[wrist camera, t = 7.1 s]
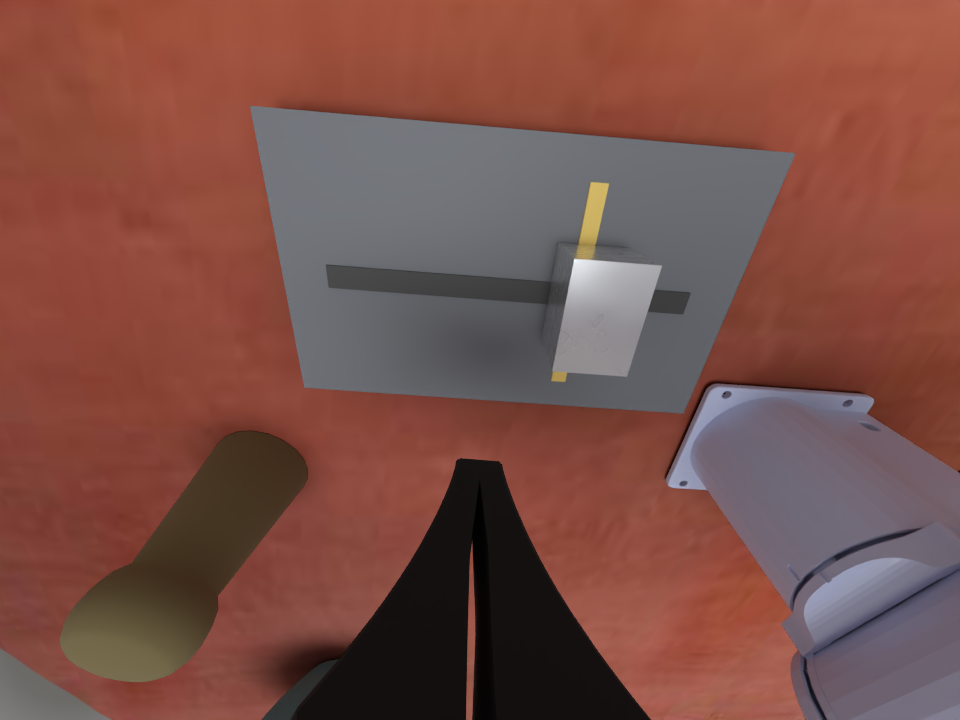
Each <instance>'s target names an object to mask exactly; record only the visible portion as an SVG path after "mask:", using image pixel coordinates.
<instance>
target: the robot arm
mask: <svg viewBox="0 0 960 720" xmlns="http://www.w3.org/2000/svg"><path fill="white" fill-rule="evenodd" d="M726 391H727V392H726ZM724 392H726V393H725V394H723V393H724ZM722 394H723V395H722ZM873 404H874V399H873V398H872V397H870V396H869V395H866V394H858V393H844V392H830V391H816V390H802V389H788V388H774V387H760V386H746V385H731V384H713V385H710V386H709V387H708V388H707V389H706V391H705V393H704V395H703V398H702V400H701V402H700V404H699V407H698V409H697V411H696V413H695V415H694V418H693V420H692V422H691V424H690V427H689V429H688V431H687V433H686V435H685V438H684V440H683V442H682V444H681V447H680V449H679V451H678V453H677V455H676V458H675V460H674V462H673V464H672V466H671V469H670V471H669V473H668V475H667V478H666V482H667V484H668V486H669V487H671V488H683V489H698V490H707V491H708V492H709V494H710V495H711V496H712V498H713V499H714V501H715V502H716V504H717V505H718V507H719V508H720V509H721V511H722V512H723V514H724V515H725V517H726V518H727V520H728V521H729V522H730V524H731V525H732V527H733V528H734V530H735V531H736V533H737V534H738V535H739V537H740V538H741V540H742V541H743V543H744V544H745V546H746V547H747V548H748V550H749V551H750V553H751V554H752V556H753V557H754V559H755V560H756V561H757V563H758V564H759V566H760V567H761V569H762V570H763V572H764V573H765V574H766V576H767V577H768V579H769V580H770V582H771V583H772V585H773V586H774V587H775V589H776V590H777V592H778V593H779V595H780V596H781V598H782V599H783V600H784V602H785V603H786V605H787V606H788V608H789V609H790V611H791V612H792V614H791V615H790V616H789V617H788V618H787V619H786V620H785V621H784V622H782V626H783V628H784V629H785V631H786V632H787V634H788V635H789V637H790V638H791V640H792V641H793V643H794V644H795V646H796V648H797V649H798V651H797V652H796V653H795V654H794V656H793V658H792V661H791V678H792V683H793V688H794V691H795V694H796V697H797V700H798V703H799V705H800V707H801V710H802V712H803V715H804V717H805V720H960V473H959V472H957V471H956V470H954V469H953V468H951V467H950V466H948V465H946V464H945V463H943V462H942V461H940V460H939V459H937V458H935V457H934V456H932V455H931V454H929V453H928V452H926V451H924V450H923V449H921V448H920V447H918V446H917V445H915V444H914V443H912V442H910V441H909V440H907V439H906V438H904V437H903V436H901V435H899V434H898V433H896V432H895V431H893V430H892V429H890V428H888V427H887V426H885V425H884V424H882V423H881V422H879V421H878V420H876V419H874V418H873V417H871V416H870V415H868V414H867V412H868V411H869V410H870V408H871V407H872V405H873ZM472 543H473V569H474V594H475V632H476V637H475V664H474V690H473V716H472V720H651V719H650V718H649V717H648V715H647V714H646V713H645V712H644V711H643V709H642V708H641V707H640V706H639V704H638V703H637V702H636V701H635V699H634V698H633V697H632V696H631V694H630V693H629V692H628V690H627V689H626V688H625V687H624V685H623V684H622V683H621V681H620V680H619V679H618V677H617V676H616V675H615V673H614V672H613V671H612V669H611V668H610V667H609V665H608V664H607V663H606V661H605V660H604V659H603V657H602V656H601V655H600V653H599V652H598V650H597V649H596V648H595V646H594V645H593V643H592V642H591V640H590V639H589V637H588V636H587V634H586V633H585V631H584V630H583V629H582V627H581V626H580V624H579V623H578V621H577V620H576V618H575V617H574V615H573V614H572V612H571V611H570V609H569V608H568V606H567V604H566V603H565V601H564V600H563V598H562V596H561V595H560V593H559V592H558V590H557V588H556V587H555V585H554V583H553V581H552V580H551V578H550V576H549V574H548V573H547V571H546V569H545V567H544V565H543V564H542V562H541V560H540V558H539V556H538V554H537V552H536V550H535V548H534V546H533V544H532V542H531V540H530V538H529V536H528V534H527V532H526V530H525V527H524V525H523V523H522V520H521V518H520V516H519V513H518V511H517V509H516V506H515V504H514V501H513V499H512V496H511V493H510V490H509V488H508V485H507V482H506V478H505V475H504V471H503V467H502V464H501V463H500V462H499V461H486V460H474V459H461V458H460V459H458V460H457V461H456V465H455V470H454V473H453V476H452V479H451V482H450V485H449V487H448V490H447V492H446V495H445V497H444V499H443V501H442V504H441V506H440V508H439V510H438V512H437V514H436V516H435V518H434V520H433V522H432V524H431V526H430V528H429V530H428V531H427V533H426V535H425V537H424V539H423V541H422V542H421V544H420V546H419V548H418V549H417V551H416V553H415V554H414V556H413V558H412V559H411V561H410V563H409V564H408V566H407V567H406V569H405V570H404V572H403V573H402V575H401V577H400V578H399V580H398V581H397V582H396V584H395V585H394V587H393V588H392V590H391V591H390V593H389V594H388V596H387V597H386V598H385V600H384V601H383V603H382V604H381V605H380V607H379V608H378V610H377V611H376V612H375V614H374V615H373V616H372V618H371V619H370V620H369V621H368V623H367V624H366V625H365V627H364V628H363V629H362V630H361V632H360V633H359V634H358V636H357V637H356V638H355V639H354V641H353V642H352V643H351V645H350V646H349V647H348V648H347V650H346V651H345V652H344V653H343V655H342V656H341V657H340V658H339V659H338V661H337V662H336V663H335V664H334V665H333V666H332V668H331V669H330V670H329V671H328V672H327V673H326V675H325V676H324V677H323V678H322V679H321V680H320V682H319V683H318V684H317V685H316V686H315V687H314V688H313V690H312V691H311V692H310V693H309V694H308V695H307V697H306V698H305V699H304V700H303V701H302V702H301V704H300V705H299V706H298V707H297V709H296V711H295V712H294V714H293V716H292V717H291V719H290V720H466V682H467V635H468V597H469V565H470V552H471V544H472Z"/></svg>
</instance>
